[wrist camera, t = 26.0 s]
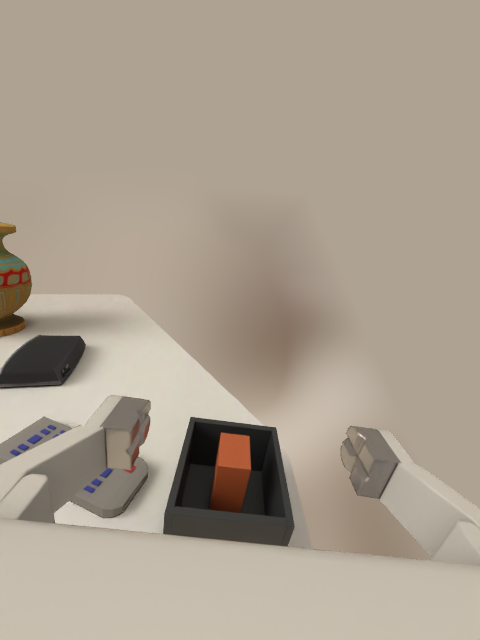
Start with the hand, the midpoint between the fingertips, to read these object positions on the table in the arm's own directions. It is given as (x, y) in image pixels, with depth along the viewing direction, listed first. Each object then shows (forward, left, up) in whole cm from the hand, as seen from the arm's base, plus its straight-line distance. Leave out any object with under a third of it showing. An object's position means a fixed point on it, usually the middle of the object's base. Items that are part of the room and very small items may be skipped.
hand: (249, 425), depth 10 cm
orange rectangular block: (-2, -15, -29) cm, 33 cm away
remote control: (+22, -19, -30) cm, 42 cm away
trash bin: (-2, -15, -30) cm, 34 cm away
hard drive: (+44, -44, -30) cm, 69 cm away
